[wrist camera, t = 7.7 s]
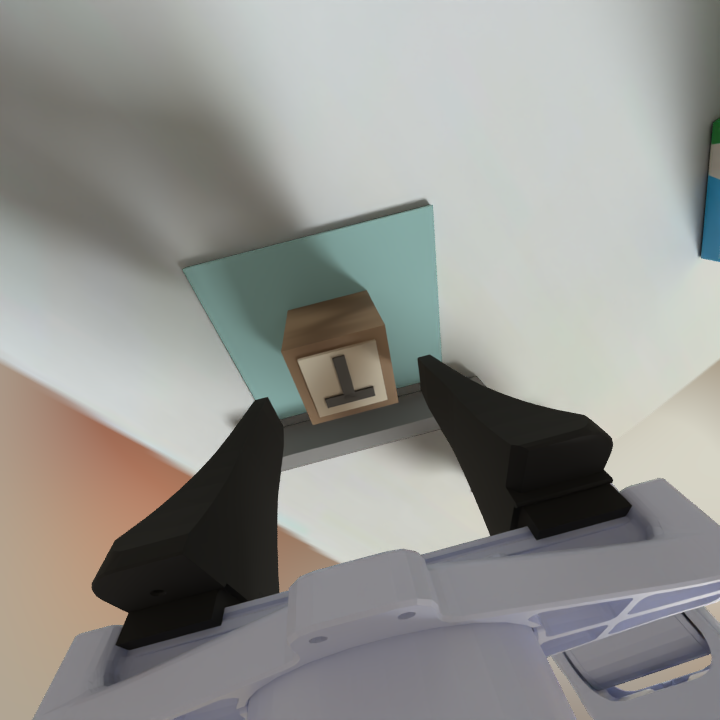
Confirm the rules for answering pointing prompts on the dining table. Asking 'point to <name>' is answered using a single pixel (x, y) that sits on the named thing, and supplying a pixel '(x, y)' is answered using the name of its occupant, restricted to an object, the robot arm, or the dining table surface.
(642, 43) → the dining table surface
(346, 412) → the letter cube
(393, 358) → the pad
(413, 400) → the long grey bar
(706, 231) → the milk carton
